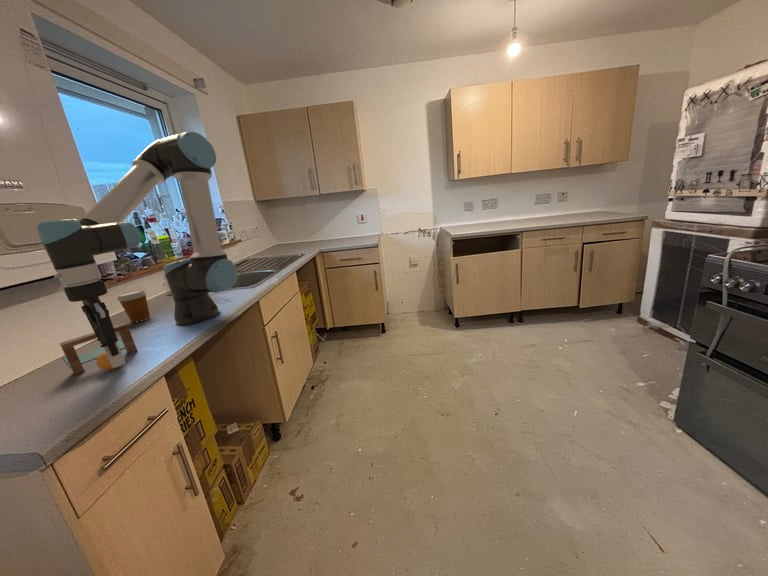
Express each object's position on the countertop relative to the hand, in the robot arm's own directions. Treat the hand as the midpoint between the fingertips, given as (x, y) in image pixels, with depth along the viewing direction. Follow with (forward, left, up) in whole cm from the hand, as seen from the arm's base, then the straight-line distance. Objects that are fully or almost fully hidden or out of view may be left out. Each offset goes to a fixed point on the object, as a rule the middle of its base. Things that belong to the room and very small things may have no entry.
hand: (118, 365), depth 85 cm
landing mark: (+1, -26, -2) cm, 26 cm away
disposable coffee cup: (-18, -50, -2) cm, 53 cm away
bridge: (+1, -12, -2) cm, 12 cm away
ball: (+1, -3, +1) cm, 4 cm away
